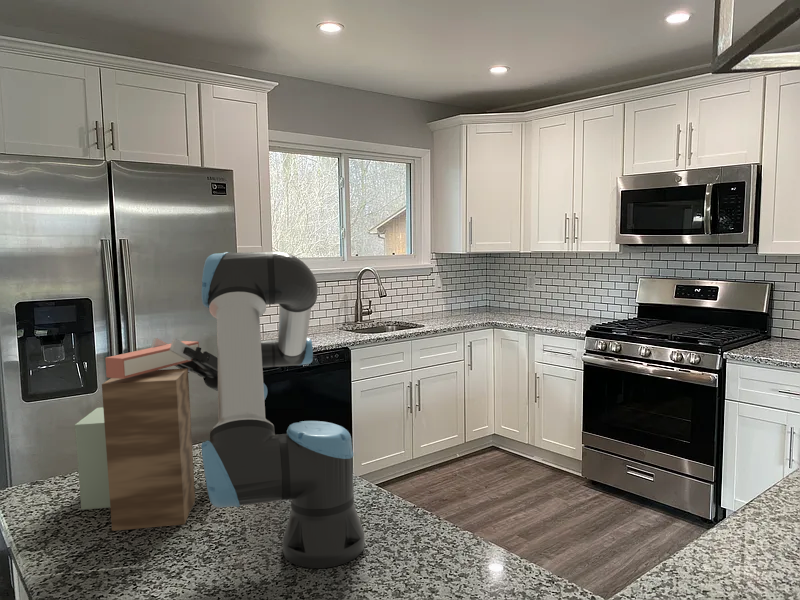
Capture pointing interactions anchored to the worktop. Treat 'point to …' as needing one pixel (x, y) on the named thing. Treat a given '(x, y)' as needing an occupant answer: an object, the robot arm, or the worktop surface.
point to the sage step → (92, 461)
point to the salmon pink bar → (144, 361)
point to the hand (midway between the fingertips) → (163, 344)
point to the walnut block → (149, 449)
